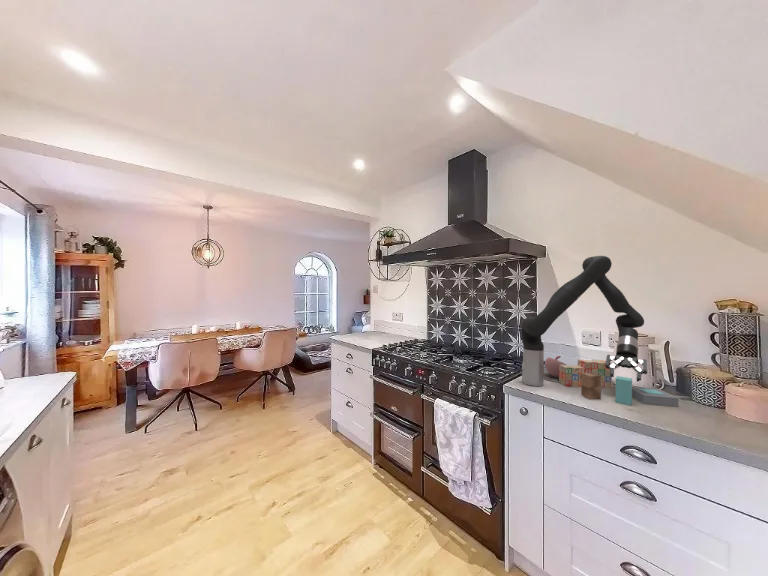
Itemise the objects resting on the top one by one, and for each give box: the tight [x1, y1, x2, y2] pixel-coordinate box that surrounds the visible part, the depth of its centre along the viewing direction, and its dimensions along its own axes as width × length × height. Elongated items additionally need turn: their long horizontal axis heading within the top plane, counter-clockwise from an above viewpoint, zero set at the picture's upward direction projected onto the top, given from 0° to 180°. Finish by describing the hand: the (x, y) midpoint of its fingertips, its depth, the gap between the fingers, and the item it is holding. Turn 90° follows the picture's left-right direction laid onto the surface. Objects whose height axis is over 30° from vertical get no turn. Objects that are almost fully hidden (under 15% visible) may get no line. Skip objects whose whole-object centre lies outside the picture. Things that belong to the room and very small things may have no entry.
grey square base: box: [632, 386, 679, 408], centre depth 127 cm, size 12×12×4 cm
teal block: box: [615, 375, 633, 406], centre depth 124 cm, size 5×5×10 cm
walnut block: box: [580, 373, 602, 400], centre depth 130 cm, size 5×5×10 cm
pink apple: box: [544, 355, 568, 378], centre depth 161 cm, size 12×12×12 cm
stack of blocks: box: [558, 358, 612, 389], centre depth 147 cm, size 21×6×12 cm, turn 84°
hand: (624, 378), depth 127 cm, fingers open, 8 cm apart
